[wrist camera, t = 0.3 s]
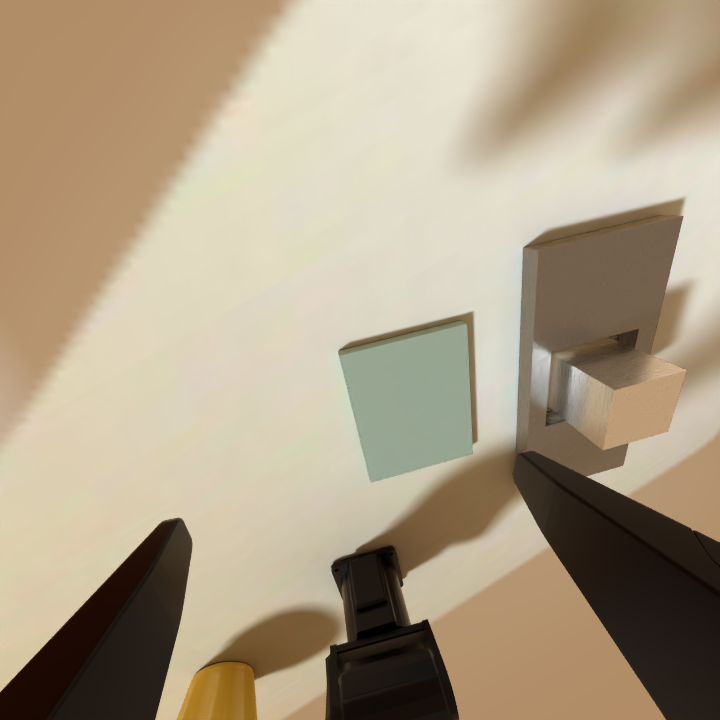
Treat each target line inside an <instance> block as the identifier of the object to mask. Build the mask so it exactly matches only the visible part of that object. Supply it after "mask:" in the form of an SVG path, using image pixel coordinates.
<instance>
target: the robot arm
mask: <svg viewBox="0 0 720 720" xmlns="http://www.w3.org/2000/svg"><path fill="white" fill-rule="evenodd" d="M513 479H514V482H515V484H516V486H517V488H518V489H519V491H520V493H521V495H522V497H523V499H524V501H525V502H526V504H527V506H528V508H529V510H530V512H531V514H532V515H533V517H534V519H535V521H536V523H537V525H538V526H539V528H540V530H541V532H542V533H543V535H544V537H545V538H546V540H547V541H548V543H549V544H550V546H551V547H552V549H553V550H554V552H555V553H556V555H557V556H558V558H559V559H560V561H561V562H562V564H563V565H564V567H565V568H566V570H567V571H568V573H569V574H570V576H571V577H572V579H573V580H574V582H575V583H576V585H577V586H578V588H579V589H580V591H581V592H582V594H583V595H584V597H585V598H586V600H587V601H588V603H589V604H590V606H591V607H592V609H593V610H594V612H595V613H596V615H597V616H598V618H599V619H600V621H601V622H602V624H603V625H604V627H605V628H606V630H607V631H608V633H609V634H610V636H611V638H612V639H613V640H614V642H615V643H616V645H617V646H618V648H619V650H620V651H621V652H622V654H623V656H624V657H625V659H626V660H627V662H628V663H629V665H630V666H631V668H632V669H633V671H634V672H635V674H636V675H637V677H638V678H639V679H640V681H641V682H642V684H643V686H644V687H645V688H646V690H647V691H648V693H649V694H650V696H651V697H652V699H653V700H654V702H655V703H656V705H657V706H658V708H659V710H660V711H661V713H662V714H663V716H664V717H665V719H666V720H720V542H718V541H716V540H714V539H712V538H709V537H708V536H706V535H704V534H702V533H700V532H698V531H692V529H691V528H689V527H687V526H685V525H683V524H681V523H679V522H677V521H675V520H673V519H671V518H669V517H667V516H665V515H663V514H661V513H659V512H657V511H655V510H653V509H651V508H649V507H646V506H645V505H643V504H641V503H639V502H637V501H635V500H632V499H630V498H628V497H626V496H624V495H622V494H620V493H618V492H616V491H614V490H612V489H610V488H608V487H606V486H604V485H602V484H600V483H598V482H596V481H594V480H592V479H590V478H588V477H586V476H584V475H582V474H580V473H578V472H576V471H574V470H572V469H570V468H568V467H566V466H564V465H562V464H560V463H558V462H556V461H554V460H551V459H549V458H547V457H545V456H543V455H541V454H539V453H537V452H535V451H533V450H527V451H522V452H518V453H517V454H516V457H515V463H514V469H513ZM191 553H192V539H191V536H190V534H189V532H188V530H187V527H186V525H185V523H184V521H183V520H182V519H181V518H174V519H169V520H165V521H163V522H161V523H160V524H159V525H158V526H157V527H156V528H155V529H154V530H153V531H152V532H151V534H150V535H149V536H148V537H147V538H146V539H145V540H144V541H143V542H142V543H141V544H140V545H139V546H138V547H137V548H136V549H135V550H134V551H133V553H132V554H131V555H130V556H129V557H128V558H127V559H126V560H125V561H124V562H123V563H122V564H121V565H120V566H119V567H118V568H117V569H116V570H115V572H114V573H113V574H112V575H111V576H110V577H109V578H108V579H107V580H106V581H105V582H104V583H103V584H102V585H101V586H100V587H99V588H98V589H97V591H96V592H95V593H94V594H93V595H92V596H91V597H90V598H89V599H88V600H87V601H86V602H85V603H84V604H83V605H82V606H81V607H80V608H79V610H78V611H77V612H76V613H75V614H74V615H73V616H72V617H71V618H70V619H69V620H68V621H67V622H66V623H65V624H64V625H63V626H62V627H61V629H60V630H59V631H58V632H57V633H56V634H55V635H54V636H53V637H52V638H51V639H50V640H49V641H48V642H47V643H46V644H45V645H44V646H43V648H42V649H41V650H40V651H39V652H38V653H37V654H36V655H35V656H34V657H33V658H32V659H31V660H30V661H29V662H28V663H27V664H26V665H25V667H24V668H23V669H22V670H21V671H20V672H19V673H18V674H17V675H16V676H15V677H14V678H13V679H12V680H11V681H10V682H9V683H8V684H7V686H6V687H5V688H4V689H3V690H2V691H1V692H0V720H155V718H156V714H157V710H158V706H159V703H160V699H161V695H162V691H163V687H164V683H165V679H166V675H167V672H168V668H169V664H170V660H171V656H172V652H173V648H174V644H175V641H176V637H177V633H178V629H179V625H180V620H181V616H182V610H183V605H184V598H185V592H186V585H187V579H188V573H189V566H190V560H191ZM331 571H332V574H333V577H334V579H335V582H336V584H337V587H338V589H339V592H340V594H341V597H342V599H343V605H344V614H345V622H346V631H347V640H348V642H347V643H343V644H340V645H337V644H334V645H331V646H330V655H329V656H328V657H327V658H326V675H327V696H326V718H325V720H459V715H458V710H457V705H456V701H455V697H454V693H453V690H452V686H451V683H450V680H449V677H448V674H447V670H446V668H445V665H444V662H443V659H442V657H441V654H440V651H439V649H438V646H437V643H436V640H435V638H434V635H433V632H432V630H431V627H430V624H429V622H428V619H426V620H422V622H420V623H416V624H413V625H411V623H410V620H409V616H408V612H407V609H406V605H405V601H404V598H403V594H402V590H401V587H402V586H403V580H402V576H401V572H400V567H399V563H398V559H397V554H396V550H395V548H394V547H388V548H384V549H381V550H378V551H374V552H371V553H367V554H364V555H361V556H357V557H354V558H351V559H347V560H344V561H340V562H337V563H334V564H332V566H331Z"/></svg>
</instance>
